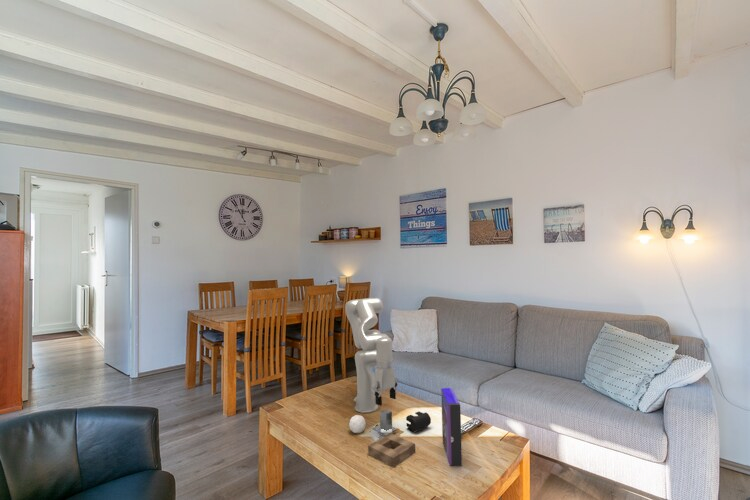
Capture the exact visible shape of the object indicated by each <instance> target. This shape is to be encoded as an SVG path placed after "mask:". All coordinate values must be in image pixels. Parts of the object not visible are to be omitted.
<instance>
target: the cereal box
mask: <svg viewBox="0 0 750 500" xmlns="http://www.w3.org/2000/svg"><path fill="white" fill-rule="evenodd" d="M440 391H441V392H440V393H441V424H442V426H441V431H442V434H441V435H442V444H443V449H444V452H445V455H446V458H447V461H448V466H449V467H463V462H462V461H463V457H462V456H463V455H462V454H463V452H462V424H461V423H462V422H461V421H462V419H461V417H462V416H461V415H462V414H461V404H460V402H459V400H458V397H457V396H456V393H455V392H454V389H453V388H451V387H443V388H440Z"/></svg>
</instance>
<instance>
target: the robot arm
mask: <svg viewBox="0 0 750 500" xmlns="http://www.w3.org/2000/svg"><path fill="white" fill-rule="evenodd" d="M344 309H345V315H346V318H347V319H348V322H349V324H350V327H351V332H352V337H353V341H354V345H355V347H356V348H357V349H360V350H358V351H356V353H355V355H354V362H355V367H356V368H355V369H356V386H357V388H356V391H357V395H356V396H355V397H354V398H353V401H354V402H355V403H356V404H355V405H354V411H356V412H358V413H362V414H371V413H374V412H376V411H377V410H378V409H379V406H382V404H383V401H382V398H383V397H382V396H381V395H382V393H383V392H385V391H387V390H389V398H390V399H392V400H396V399H397V397H396V393H397V392H396V390H397V387H398V382H399V378H398V377H396V376H395V368H394V364H393V363H394V360H393V359H394V358H393V340H392V338H391V337H390V336H388V334H385V333H381V331H380V330H378V329H372V328H374V327H375V326H376V325H377V324H378V323H379V322H378V321H379V318H378V316H377V314H379V313H382V312H383V310H384V304H383V301H382V300H381V299H380V298H379V297H368V298H367V297H366V298H361V299H359V298H358V299H351V300H349V301H347V302H346V303H345V307H344ZM374 367H376V368H375V371H374V372H373V370H371V368H374Z"/></svg>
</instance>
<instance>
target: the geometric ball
mask: <svg viewBox="0 0 750 500" xmlns="http://www.w3.org/2000/svg"><path fill="white" fill-rule="evenodd" d="M348 426H349V429H350V430H351V432H352V433H354V434H359V433H362V432H363V431H364V430H365V428H366V419H365V418H364V417H363V416H362V415H360V414H355V415H353V416H352V417H351V418H350V419H349V425H348Z"/></svg>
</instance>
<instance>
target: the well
mask: <svg viewBox="0 0 750 500" xmlns="http://www.w3.org/2000/svg"><path fill="white" fill-rule="evenodd" d="M367 446H368V447H367V448H368V449H367V451H368V454H367V455H369V456H371V457H373V458H375V459H377V460H379V461H381V462H383V463H385V464H387V465H389V466H391V467H393V468H395V467H396V466H397V465H399V464H401V463H403V462H404V461H405V460H406V459H407V458H409V457H410V456H412V455H413V454H415V453H416V443H414V442H412V441H409V440H407V439H405V438H402V437H400V436H398V435H396V434H393V433H389V434H388V435H386V436H385V435H383V436H382V437H381V438H379V439H377V440H376V441H374V442H372V443H370V444H369V445H367Z"/></svg>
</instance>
